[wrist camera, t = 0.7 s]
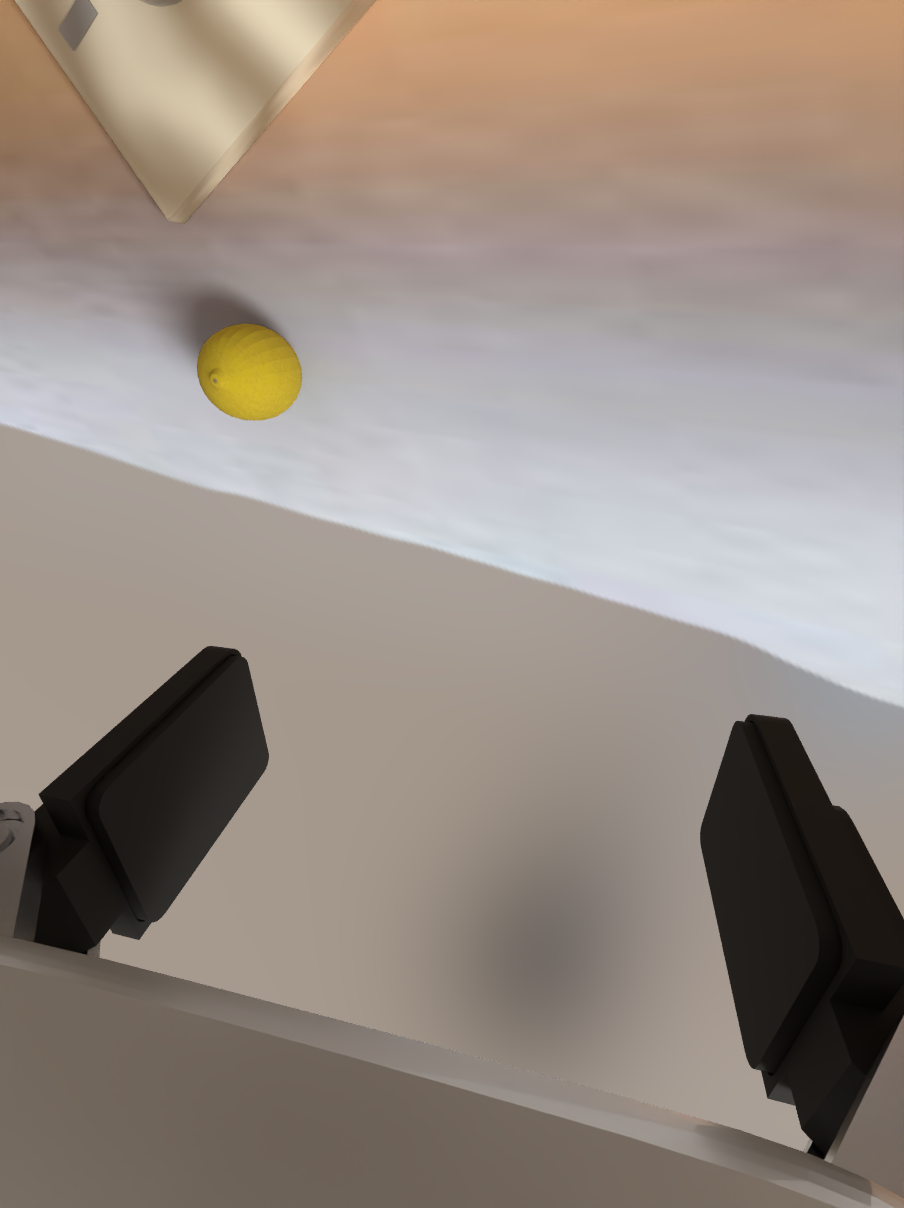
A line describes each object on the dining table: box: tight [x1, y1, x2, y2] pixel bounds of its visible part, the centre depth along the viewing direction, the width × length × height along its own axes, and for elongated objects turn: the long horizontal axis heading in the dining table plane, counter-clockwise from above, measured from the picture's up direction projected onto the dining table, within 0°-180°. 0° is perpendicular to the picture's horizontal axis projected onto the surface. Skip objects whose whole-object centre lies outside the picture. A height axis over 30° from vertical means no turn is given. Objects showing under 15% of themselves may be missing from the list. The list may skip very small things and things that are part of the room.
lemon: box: [197, 324, 302, 420], centre depth 34 cm, size 6×6×8 cm
